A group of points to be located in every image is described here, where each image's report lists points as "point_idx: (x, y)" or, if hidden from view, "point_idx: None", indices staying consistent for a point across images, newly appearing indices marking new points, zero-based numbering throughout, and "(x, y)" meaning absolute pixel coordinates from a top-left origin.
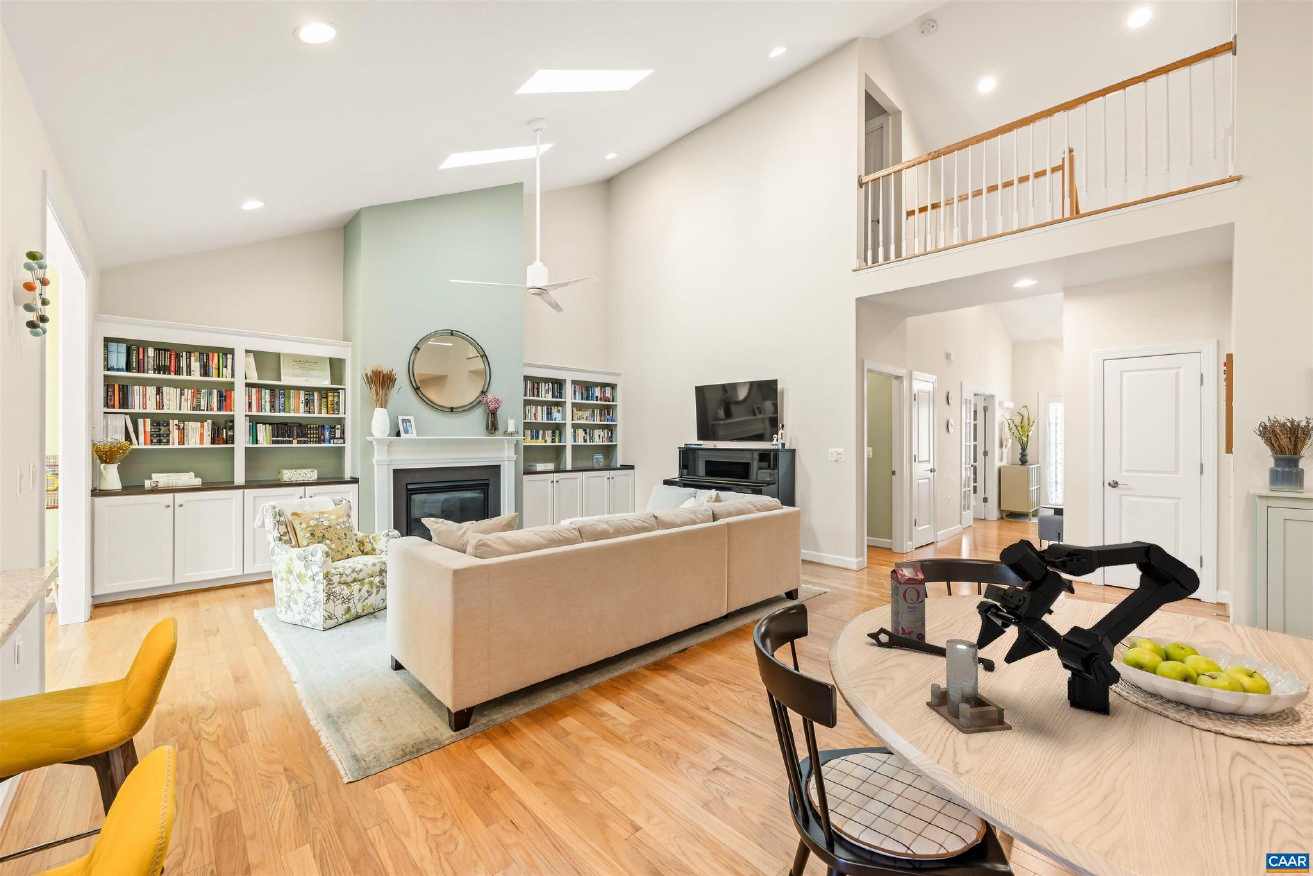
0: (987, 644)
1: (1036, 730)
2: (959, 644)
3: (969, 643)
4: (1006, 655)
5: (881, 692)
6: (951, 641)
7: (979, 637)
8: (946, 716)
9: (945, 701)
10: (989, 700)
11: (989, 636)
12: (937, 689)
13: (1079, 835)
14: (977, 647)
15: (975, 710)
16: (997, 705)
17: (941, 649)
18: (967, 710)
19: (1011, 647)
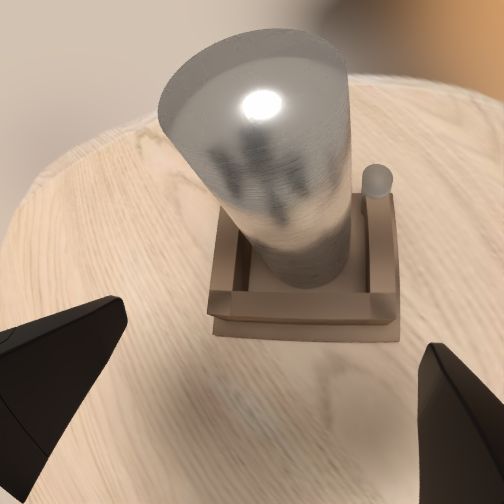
0: (419, 437)
1: (197, 394)
2: (243, 66)
3: (241, 118)
4: (93, 305)
5: (455, 135)
6: (303, 49)
7: (470, 388)
8: None
9: (365, 226)
10: (270, 313)
11: (443, 481)
12: (362, 179)
13: (34, 206)
14: (169, 138)
15: (223, 220)
16: (231, 311)
17: None
18: None
19: (45, 330)
